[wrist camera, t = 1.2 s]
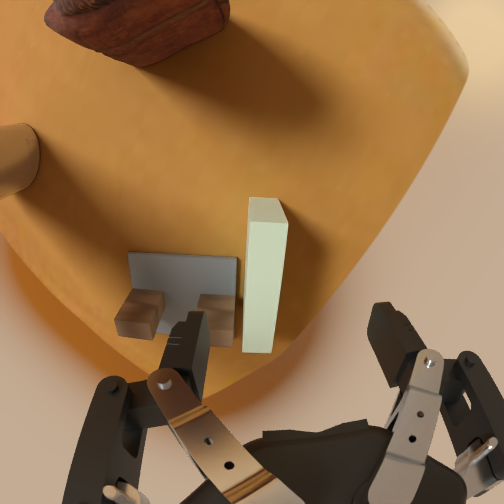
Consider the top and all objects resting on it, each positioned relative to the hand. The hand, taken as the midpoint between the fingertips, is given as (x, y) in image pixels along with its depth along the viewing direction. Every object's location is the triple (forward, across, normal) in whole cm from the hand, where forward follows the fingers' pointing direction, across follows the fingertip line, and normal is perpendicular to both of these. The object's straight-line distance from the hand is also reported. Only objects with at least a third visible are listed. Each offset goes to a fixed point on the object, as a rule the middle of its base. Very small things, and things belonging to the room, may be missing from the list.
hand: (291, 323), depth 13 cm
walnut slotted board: (+18, +11, +11) cm, 24 cm away
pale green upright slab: (+18, +1, +6) cm, 19 cm away
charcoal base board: (+18, +11, +11) cm, 24 cm away
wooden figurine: (+18, +9, -20) cm, 29 cm away
